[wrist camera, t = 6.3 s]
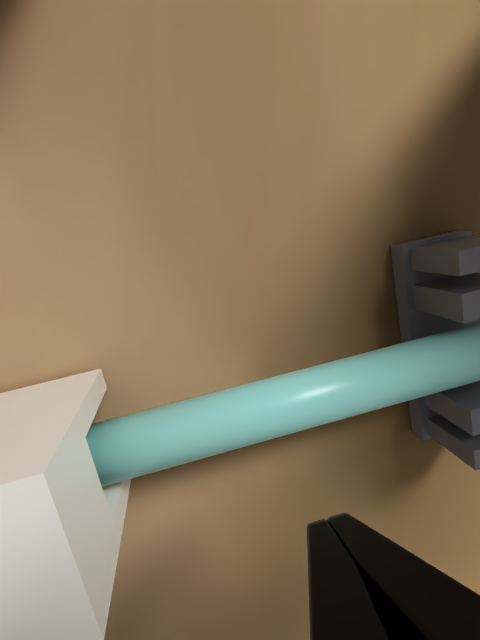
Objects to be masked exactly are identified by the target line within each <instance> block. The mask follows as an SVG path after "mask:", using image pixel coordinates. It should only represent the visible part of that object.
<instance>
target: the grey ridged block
mask: <svg viewBox="0 0 480 640" xmlns="http://www.w3.org/2000/svg"><path fill="white" fill-rule="evenodd" d="M390 248H391V257H392V265H393V274H394V282H395V291H396V299H397V308H398V316H399V325H400V334H401V342H402V343H404V342H408V341H411V340H415V339H419V338H423V337H427V336H431V335H434V334H438V333H442V332H446V331H450V330H454V329H457V328H461V327H465V326H469V325H473V324H476V323H478V320H479V319H480V273H475V272H480V236H472V230H457V231H452V232H448V233H443V234H439V235H435V236H430V237H426V238H422V239H417V240H413V241H409V242H404V243H400V244H395V245H391V246H390ZM408 402H409V410H410V419H411V427H412V433H413V434H415V435H416V436H417V437H418V438H420V439H421V440H422V441H425V440H429V439H432V438H433V439H435V440H436V441H437V442H439V443H440V444H441V445H443V446H444V447H445V448H447V449H448V450H449V451H450V452H452V453H453V454H454V455H456V456H457V457H458V458H460V459H461V460H462V461H464V462H465V463H466V464H468V465H469V466H470V467H472V468H473V469H474V470H479V469H480V381H477V382H473V383H470V384H466V385H462V386H459V387H455V388H452V389H448V390H445V391H441V392H438V393H434V394H430V395H427V396H423V397H420V398H416V399H413V400H409V401H408Z"/></svg>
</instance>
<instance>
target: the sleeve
mask: <svg viewBox="0 0 480 640" xmlns="http://www.w3.org/2000/svg"><path fill="white" fill-rule="evenodd" d="M106 389H107V387H106V384H105V381H104V377H103V374H102V371H101V369H97V370H93V371H89V372H85V373H81V374H77V375H73V376H69V377H65V378H61V379H57V380H53V381H49V382H45V383H40V384H36V385H32V386H28V387H24V388H20V389H16V390H12V391H8V392H4V393H0V640H104V637H105V631H106V625H107V619H108V613H109V607H110V601H111V596H112V590H113V584H114V578H115V572H116V566H117V560H118V554H119V548H120V542H121V536H122V530H123V524H124V519H125V513H126V507H127V501H128V495H129V489H130V483H131V479H128V480H125V481H121V482H117V483H114V484H110V485H107V486H103V487H102V486H101V483H100V480H99V477H98V474H97V471H96V468H95V465H94V462H93V458H92V455H91V452H90V449H89V446H88V443H87V440H86V435H87V433H88V431H89V428H90V426H91V424H92V422H93V419H94V417H95V415H96V412H97V410H98V408H99V405H100V403H101V401H102V399H103V396H104V394H105V392H106Z"/></svg>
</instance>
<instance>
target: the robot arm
mask: <svg viewBox="0 0 480 640" xmlns="http://www.w3.org/2000/svg"><path fill="white" fill-rule="evenodd" d="M307 548H308V580H309V612H310V640H480V595H479V594H477V593H475V592H474V591H472V590H470V589H469V588H467V587H466V586H464V585H462V584H461V583H459V582H457V581H456V580H454V579H453V578H451V577H449V576H448V575H446V574H445V573H443V572H441V571H440V570H438V569H436V568H435V567H433V566H432V565H430V564H428V563H427V562H425V561H423V560H422V559H420V558H419V557H417V556H415V555H414V554H412V553H411V552H409V551H407V550H406V549H404V548H402V547H401V546H399V545H398V544H396V543H394V542H393V541H391V540H390V539H388V538H386V537H385V536H383V535H381V534H380V533H378V532H377V531H375V530H373V529H372V528H370V527H368V526H367V525H365V524H364V523H362V522H360V521H359V520H357V519H356V518H354V517H352V516H351V515H349V514H347V513H342V514H338V515H335V516H332V517H329V518H328V520H324V519H322V520H319V521H316V522H313V523H310V524H308V525H307Z"/></svg>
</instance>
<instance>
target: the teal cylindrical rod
mask: <svg viewBox="0 0 480 640" xmlns="http://www.w3.org/2000/svg"><path fill="white" fill-rule="evenodd" d="M477 381H480V323H476V324H473V325H469V326H465V327H461V328H457V329H454V330H450V331H446V332H442V333H438V334H434V335H431V336H427V337H423V338H419V339H415V340H411V341H408V342H404V343H400V344H396V345H392V346H389V347H385V348H381V349H377V350H373V351H369V352H366V353H362V354H358V355H354V356H350V357H347V358H343V359H339V360H335V361H331V362H327V363H324V364H320V365H316V366H312V367H308V368H305V369H301V370H297V371H293V372H289V373H285V374H282V375H278V376H274V377H270V378H266V379H262V380H259V381H255V382H251V383H247V384H243V385H240V386H236V387H232V388H228V389H224V390H220V391H217V392H213V393H209V394H205V395H201V396H198V397H194V398H190V399H186V400H182V401H178V402H175V403H171V404H167V405H163V406H159V407H156V408H152V409H148V410H144V411H140V412H136V413H133V414H129V415H125V416H121V417H117V418H113V419H110V420H106V421H102V422H98V423H94V424H91V426H90V428H89V431H88V433H87V435H86V440H87V443H88V446H89V449H90V452H91V455H92V458H93V462H94V465H95V468H96V471H97V474H98V477H99V480H100V483H101V486H102V487H103V486H107V485H110V484H114V483H117V482H121V481H125V480H128V479H132V478H135V477H139V476H142V475H146V474H149V473H153V472H157V471H160V470H164V469H167V468H171V467H174V466H178V465H181V464H185V463H189V462H192V461H196V460H199V459H203V458H206V457H210V456H213V455H217V454H221V453H224V452H228V451H231V450H235V449H238V448H242V447H245V446H249V445H253V444H256V443H260V442H263V441H267V440H270V439H274V438H278V437H281V436H285V435H288V434H292V433H295V432H299V431H302V430H306V429H310V428H313V427H317V426H320V425H324V424H327V423H331V422H334V421H338V420H342V419H345V418H349V417H352V416H356V415H359V414H363V413H366V412H370V411H374V410H377V409H381V408H384V407H388V406H391V405H395V404H398V403H402V402H406V401H409V400H413V399H416V398H420V397H423V396H427V395H430V394H434V393H438V392H441V391H445V390H448V389H452V388H455V387H459V386H462V385H466V384H470V383H473V382H477Z"/></svg>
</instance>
